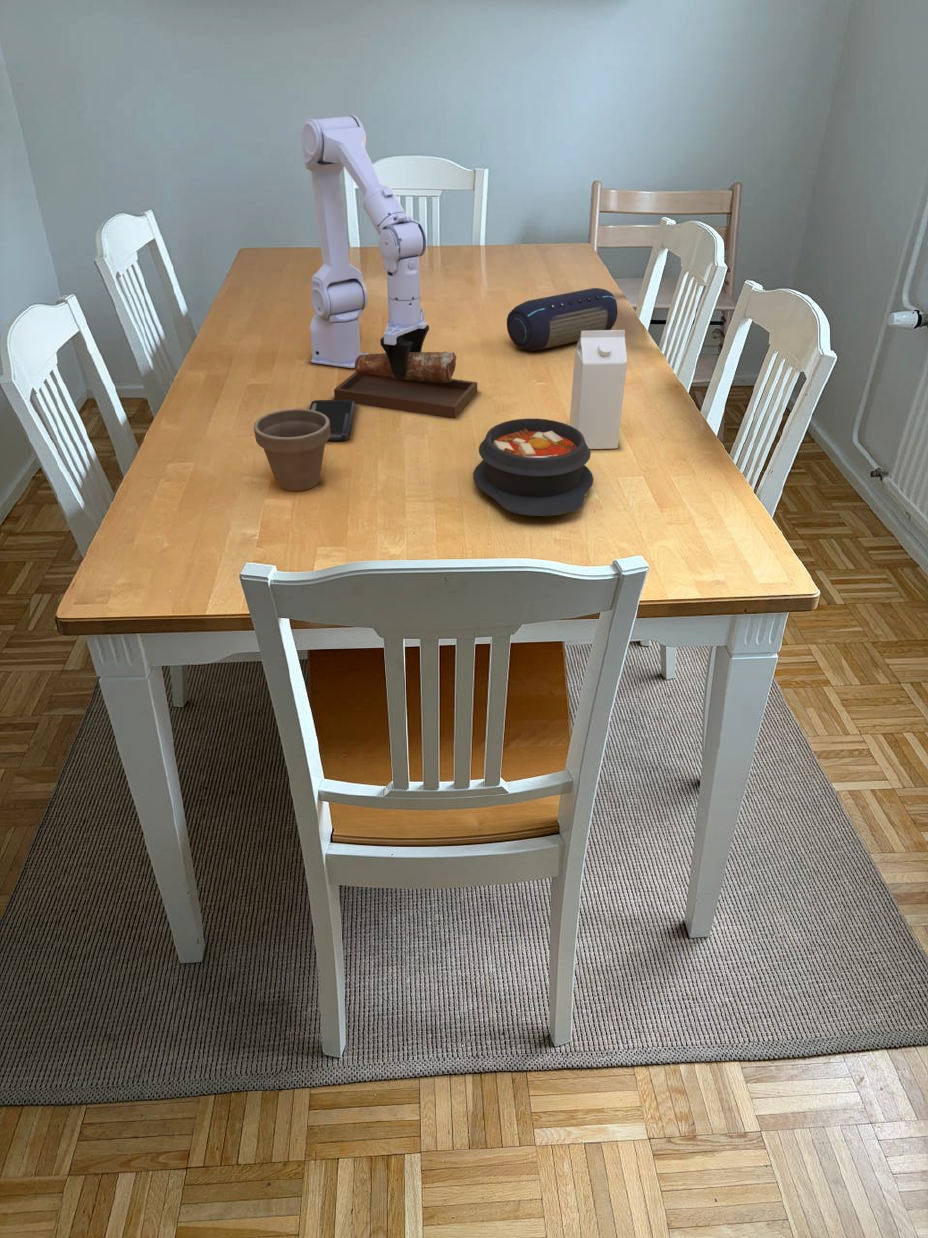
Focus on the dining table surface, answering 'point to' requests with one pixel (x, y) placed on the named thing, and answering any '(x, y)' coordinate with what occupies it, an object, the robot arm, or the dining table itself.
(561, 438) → the casserole
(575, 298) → the portable speaker
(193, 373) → the dining table surface
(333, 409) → the phone
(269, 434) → the flower pot
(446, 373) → the brown cylinder
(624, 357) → the milk carton
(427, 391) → the tray
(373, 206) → the robot arm
